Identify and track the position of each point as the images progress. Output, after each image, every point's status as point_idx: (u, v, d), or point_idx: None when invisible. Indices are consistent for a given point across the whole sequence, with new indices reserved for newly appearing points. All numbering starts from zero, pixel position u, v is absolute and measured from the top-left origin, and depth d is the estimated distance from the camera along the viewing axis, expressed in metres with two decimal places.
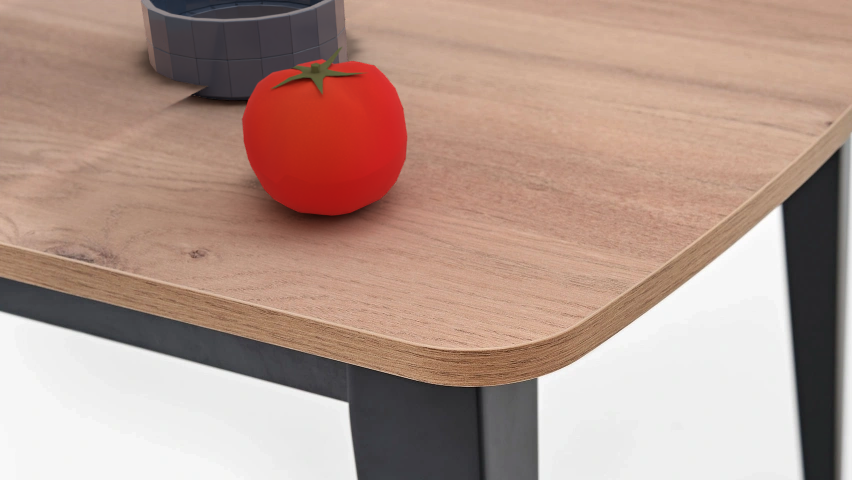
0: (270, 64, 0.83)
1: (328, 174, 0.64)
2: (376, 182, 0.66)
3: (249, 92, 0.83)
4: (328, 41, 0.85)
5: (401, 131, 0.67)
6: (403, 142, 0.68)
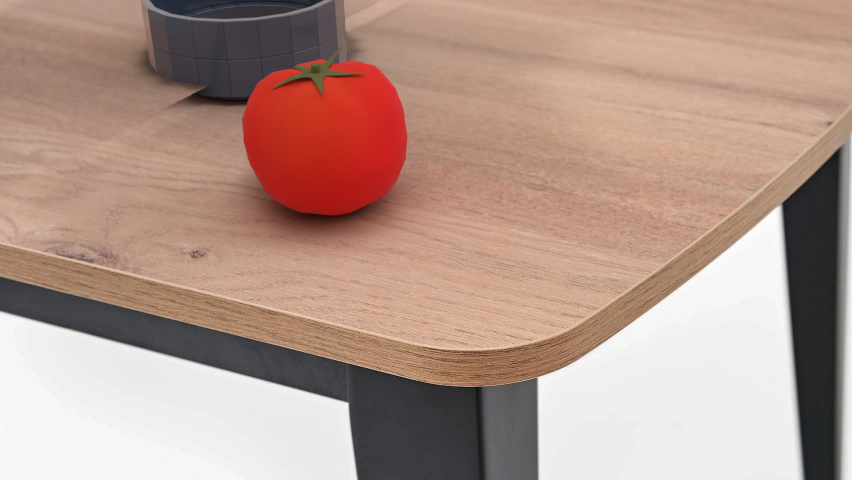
0: (270, 64, 0.83)
1: (328, 174, 0.64)
2: (376, 182, 0.66)
3: (249, 92, 0.83)
4: (328, 41, 0.85)
5: (401, 131, 0.67)
6: (403, 142, 0.68)
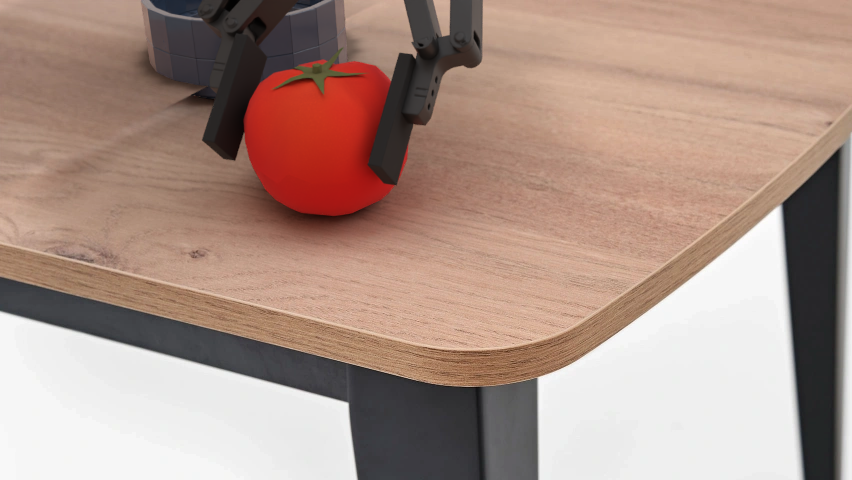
0: (270, 64, 0.83)
1: (330, 174, 0.64)
2: (378, 183, 0.66)
3: None
4: (328, 41, 0.85)
5: None
6: None
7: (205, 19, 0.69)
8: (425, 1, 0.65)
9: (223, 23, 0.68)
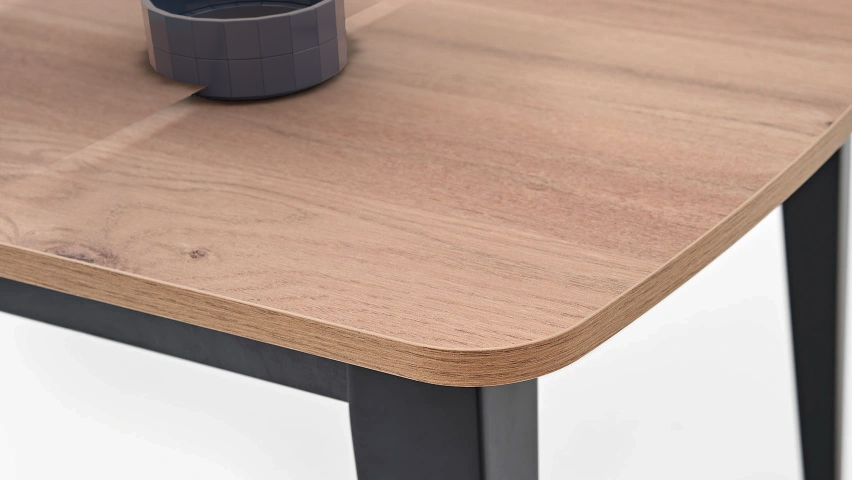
0: (270, 64, 0.83)
1: None
2: None
3: (249, 92, 0.83)
4: (328, 41, 0.85)
5: None
6: None
7: None
8: None
9: None
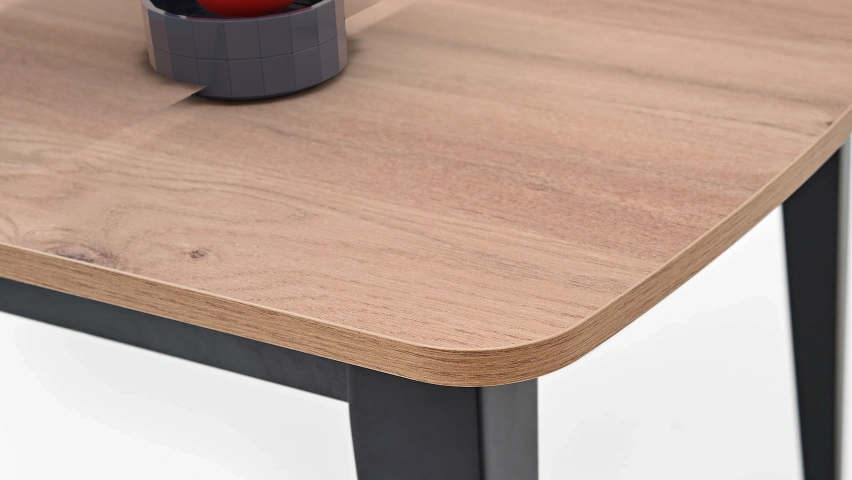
0: (270, 64, 0.83)
1: None
2: None
3: (249, 92, 0.83)
4: (328, 41, 0.85)
5: None
6: None
7: None
8: None
9: None
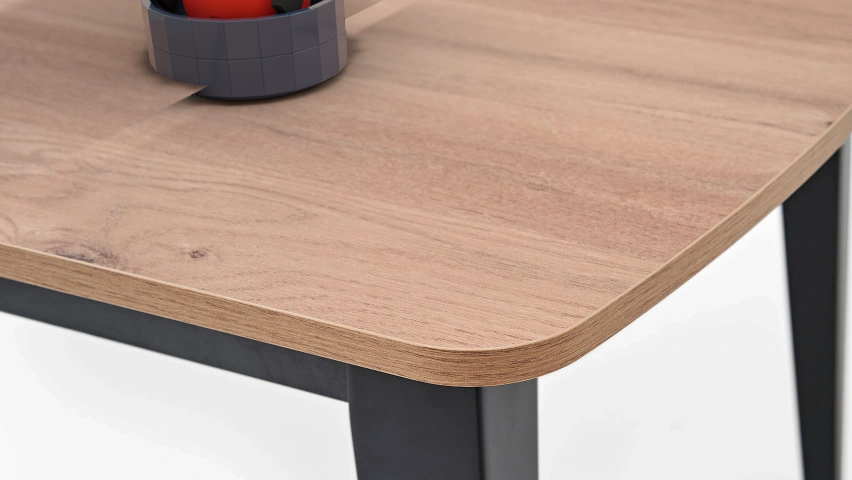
0: (270, 64, 0.83)
1: (243, 14, 0.83)
2: None
3: (249, 92, 0.83)
4: (328, 41, 0.85)
5: None
6: None
7: None
8: None
9: None
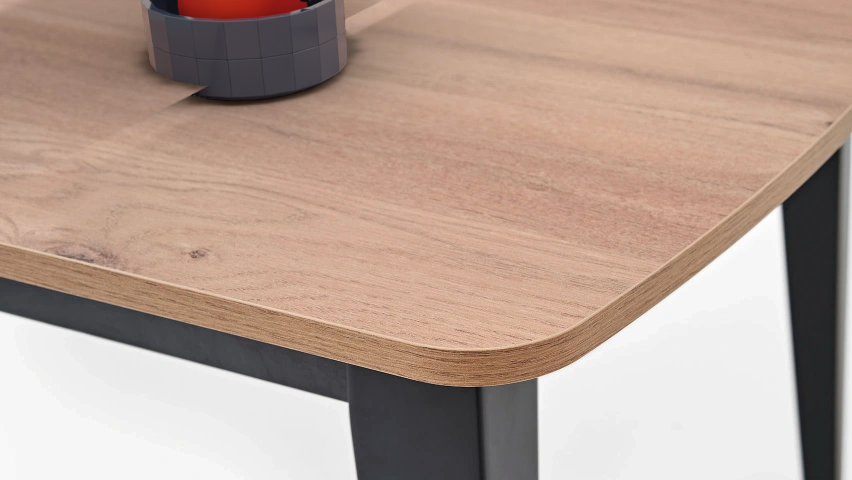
0: (270, 64, 0.83)
1: None
2: None
3: (249, 92, 0.83)
4: (328, 41, 0.85)
5: (300, 2, 0.87)
6: None
7: None
8: None
9: None
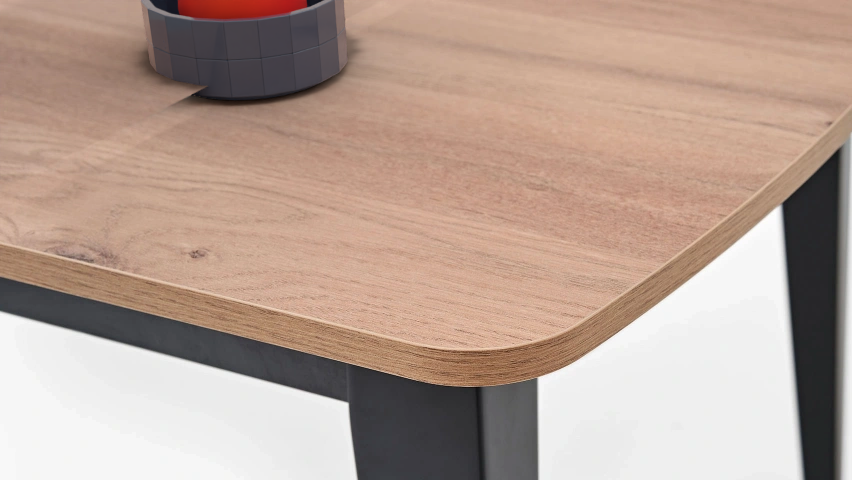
0: (270, 64, 0.83)
1: None
2: None
3: (249, 92, 0.83)
4: (328, 41, 0.85)
5: (300, 2, 0.87)
6: None
7: None
8: None
9: None
